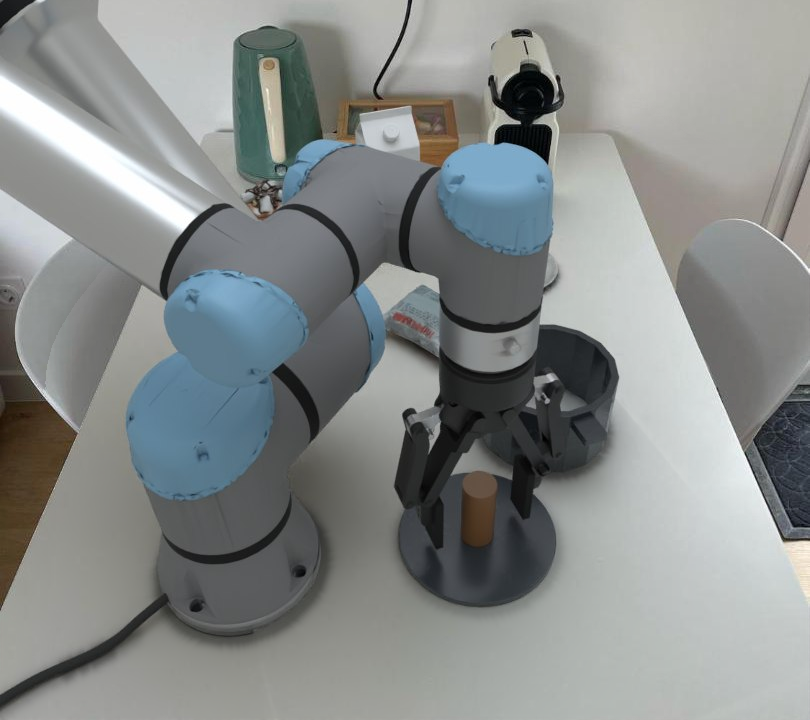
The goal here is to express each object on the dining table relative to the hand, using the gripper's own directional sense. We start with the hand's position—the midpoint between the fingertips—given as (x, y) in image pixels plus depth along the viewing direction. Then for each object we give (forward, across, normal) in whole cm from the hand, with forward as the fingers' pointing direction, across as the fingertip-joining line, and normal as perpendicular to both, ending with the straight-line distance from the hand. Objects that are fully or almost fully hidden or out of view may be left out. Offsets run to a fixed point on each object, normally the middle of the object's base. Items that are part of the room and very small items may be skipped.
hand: (477, 522), depth 77 cm
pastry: (+3, +23, +38) cm, 45 cm away
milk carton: (+3, +11, +54) cm, 55 cm away
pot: (+3, +13, +11) cm, 17 cm away
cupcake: (+3, -6, +56) cm, 56 cm away
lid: (+2, 0, 0) cm, 2 cm away
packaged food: (+3, +7, +30) cm, 31 cm away
